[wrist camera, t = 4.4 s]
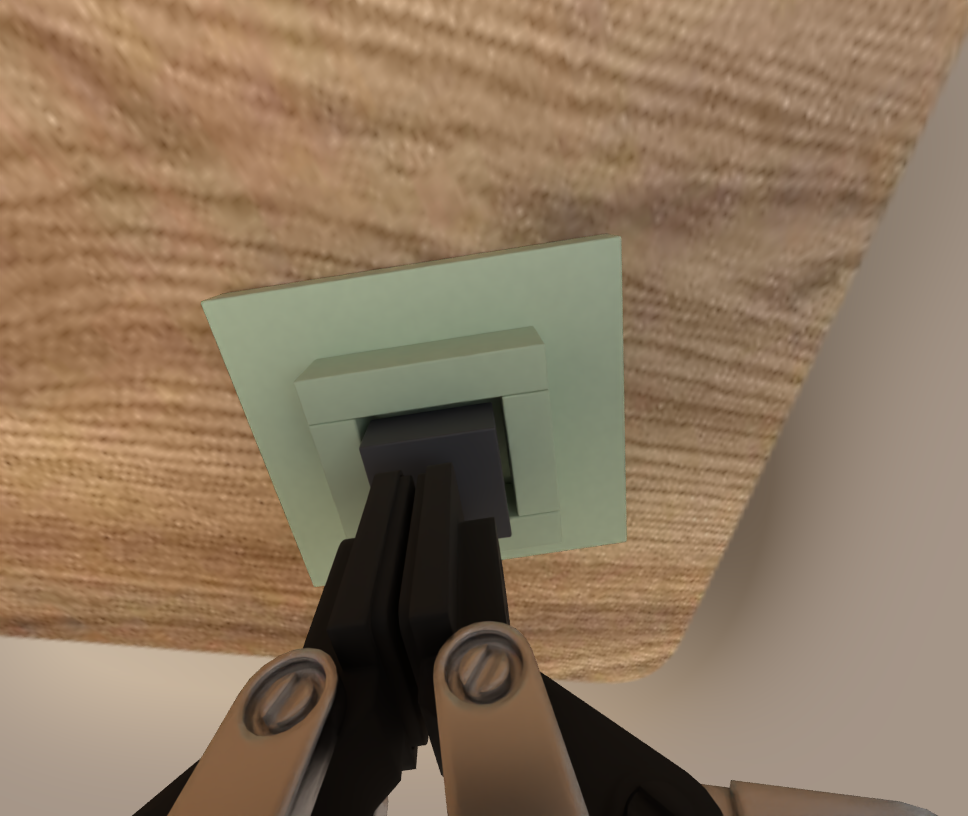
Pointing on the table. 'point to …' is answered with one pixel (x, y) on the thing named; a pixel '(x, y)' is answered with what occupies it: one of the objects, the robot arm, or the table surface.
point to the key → (445, 455)
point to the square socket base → (441, 383)
